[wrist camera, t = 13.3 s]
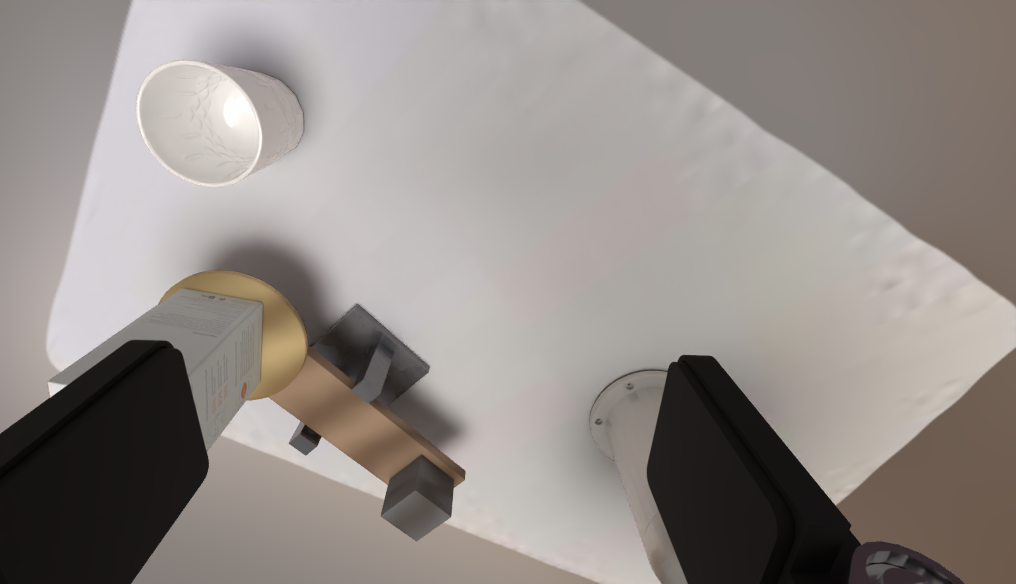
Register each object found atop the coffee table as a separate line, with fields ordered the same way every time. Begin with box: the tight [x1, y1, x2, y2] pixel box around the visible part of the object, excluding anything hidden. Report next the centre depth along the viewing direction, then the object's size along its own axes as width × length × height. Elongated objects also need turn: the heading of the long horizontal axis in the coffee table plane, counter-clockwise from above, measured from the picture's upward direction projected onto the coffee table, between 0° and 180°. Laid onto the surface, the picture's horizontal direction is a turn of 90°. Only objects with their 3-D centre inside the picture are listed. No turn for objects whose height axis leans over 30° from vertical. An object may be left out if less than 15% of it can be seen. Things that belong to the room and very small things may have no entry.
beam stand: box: [289, 304, 430, 455], centre depth 47 cm, size 10×12×8 cm
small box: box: [47, 288, 263, 451], centre depth 34 cm, size 8×6×13 cm
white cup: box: [136, 60, 304, 187], centre depth 36 cm, size 8×8×10 cm
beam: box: [159, 270, 465, 541], centre depth 43 cm, size 31×12×6 cm, turn 42°
